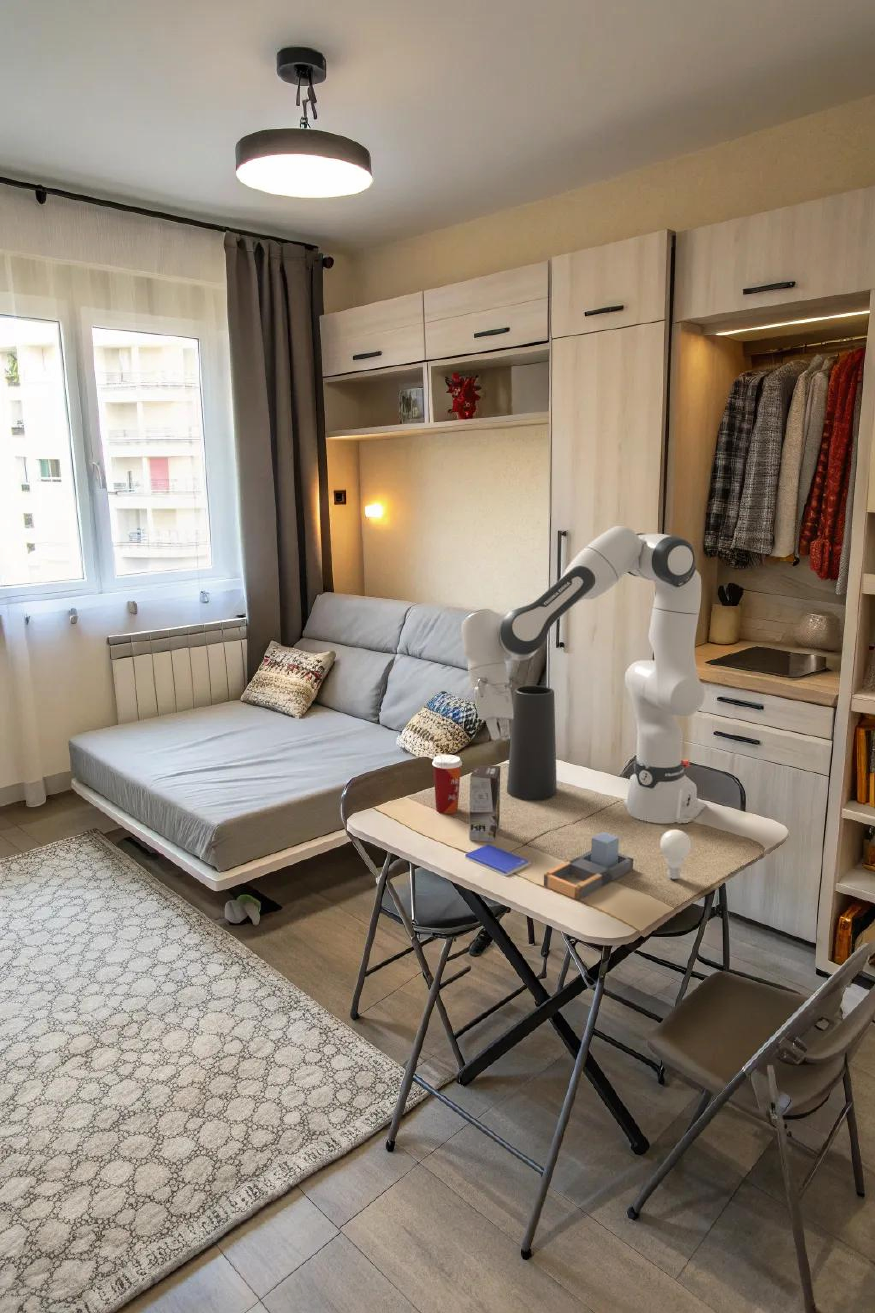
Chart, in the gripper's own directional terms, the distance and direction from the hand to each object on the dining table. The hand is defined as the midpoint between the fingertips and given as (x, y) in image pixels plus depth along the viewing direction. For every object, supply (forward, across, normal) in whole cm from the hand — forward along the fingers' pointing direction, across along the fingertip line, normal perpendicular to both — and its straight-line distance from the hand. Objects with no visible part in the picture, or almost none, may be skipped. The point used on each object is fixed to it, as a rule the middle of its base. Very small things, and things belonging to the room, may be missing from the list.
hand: (501, 739), depth 188 cm
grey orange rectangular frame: (+33, +1, -13) cm, 35 cm away
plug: (+32, +6, -16) cm, 36 cm away
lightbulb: (+36, +6, -30) cm, 48 cm away
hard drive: (+27, +2, +7) cm, 28 cm away
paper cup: (+14, +25, +24) cm, 37 cm away
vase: (+13, +44, +5) cm, 47 cm away
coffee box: (+21, +15, +12) cm, 28 cm away
